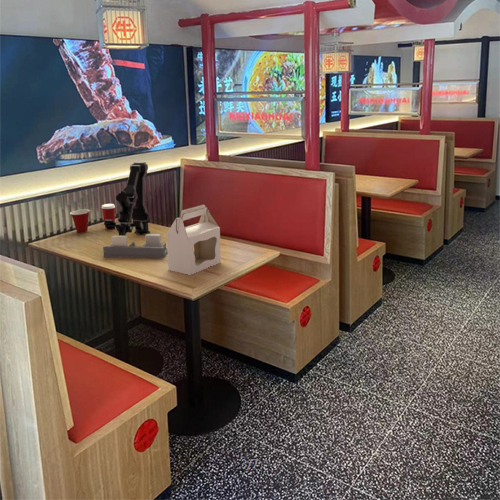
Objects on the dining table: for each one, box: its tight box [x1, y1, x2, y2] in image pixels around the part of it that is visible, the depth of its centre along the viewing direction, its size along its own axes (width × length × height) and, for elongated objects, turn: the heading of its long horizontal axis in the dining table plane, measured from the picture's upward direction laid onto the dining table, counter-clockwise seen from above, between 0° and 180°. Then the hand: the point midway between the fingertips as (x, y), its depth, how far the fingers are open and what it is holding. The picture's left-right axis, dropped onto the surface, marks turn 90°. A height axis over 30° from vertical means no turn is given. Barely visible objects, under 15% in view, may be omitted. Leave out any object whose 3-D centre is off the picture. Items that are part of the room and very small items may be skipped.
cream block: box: [110, 234, 129, 246], centre depth 270 cm, size 3×7×8 cm, turn 85°
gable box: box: [166, 204, 222, 276], centre depth 249 cm, size 22×13×28 cm, turn 144°
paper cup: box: [101, 203, 116, 231], centre depth 315 cm, size 8×8×14 cm
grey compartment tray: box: [102, 241, 168, 259], centre depth 272 cm, size 13×30×5 cm, turn 85°
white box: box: [144, 233, 162, 247], centre depth 272 cm, size 3×7×8 cm, turn 85°
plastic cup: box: [69, 209, 91, 234], centre depth 310 cm, size 11×11×12 cm
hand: (120, 239), depth 272 cm, fingers closed
